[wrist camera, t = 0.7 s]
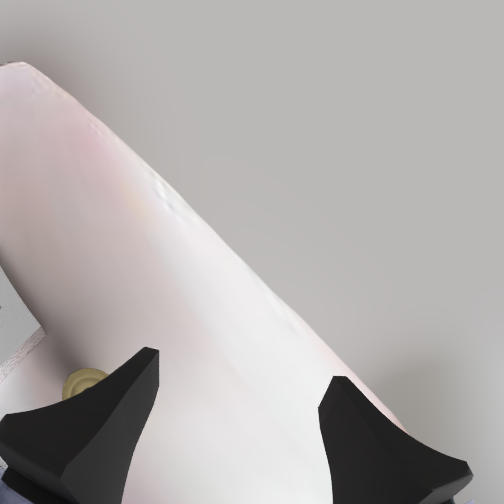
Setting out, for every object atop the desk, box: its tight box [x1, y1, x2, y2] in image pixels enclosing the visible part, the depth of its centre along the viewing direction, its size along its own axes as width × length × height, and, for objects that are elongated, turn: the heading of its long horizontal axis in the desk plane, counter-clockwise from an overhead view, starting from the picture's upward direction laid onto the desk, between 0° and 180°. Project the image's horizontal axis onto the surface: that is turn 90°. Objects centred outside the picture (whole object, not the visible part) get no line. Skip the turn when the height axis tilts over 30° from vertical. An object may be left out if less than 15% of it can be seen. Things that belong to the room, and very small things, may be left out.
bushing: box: [62, 368, 108, 400], centre depth 16 cm, size 4×4×6 cm
